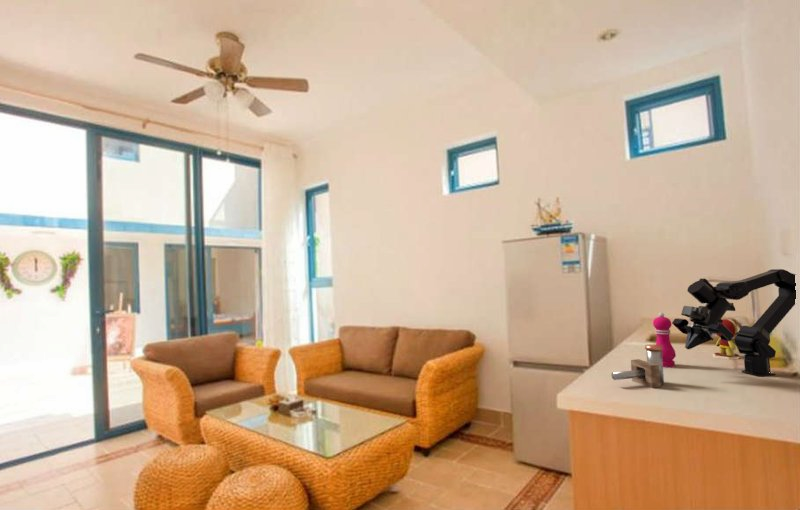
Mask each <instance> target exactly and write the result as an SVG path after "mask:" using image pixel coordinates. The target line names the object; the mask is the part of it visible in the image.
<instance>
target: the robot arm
mask: <svg viewBox="0 0 800 510" xmlns="http://www.w3.org/2000/svg"><path fill="white" fill-rule="evenodd" d="M795 275H796V274H795V273H792V272H790V271H788V270H786V269H781V268H774V269H769V270H768V271H767V270H766V271H764V272H762V273H758V274H755V275H753V276H749V277H746V278H743V279H740V280H731V281H730V280H729V281H721V282H718V283H717V284H716V285H715V286H713V284H712V283H710V282H709V280H708V279H706V278H699V279H698V280H697V281H694V282H693V283H692V284H690V285H689V286H688V287H687V293H689V294H690V295H691V296H692V297H693V298H694V299H695V300H697V301H698V302H699V303H700V304H705V305H699V306H698V307H697V306H696V307H695V306H692V305H691V306H688V305H683V307H682V309H681V310H682V311H681V314H680V315H681V316H685V317H687V318H689V320H688V319H685V318H677V317H676V318H674V319H673V321H671V325H673V326H674V327H675V328H676V329H678V331H679V332H680V333H682V334H684V335H686V340H685V341H686V342H685V346H684V348H685V349H686V350H691V349H693V348H696V347H697V346H700V345H702V344H704V343H708V342H709V341H714V338H713V337H714V336H716V334H721V337H720V338H721V339H722V340H724V341H730V340H734V345H735V347H736V349H737V350H738V353H739V354H742V355H744V360H743V363H744V369H743V370H741V371H740V372H741V373H745V374H747V375H748V374H749V375H751V376H752V375H753V376H757V377H765V376H766V377H767V376H775V375H776V373H775V372H772V373H771V362H770V359H772V358H775V357H776V353H777V351H776V349H774V348H773V347H772V346H771V345H770V343H771V336H770V335H771V333H772V332H773V331H774V330H775V328H776V327H778V326H779V324H780V323H781V322H782V320H783V319H784V318H785V316H786V315H787V314H788V313H789V312H790V311H791V310H792V309H793V307H795V306H796V304H795V299H796V290H795V286H796V283H795ZM773 284H774V286H776V287H777V288H778V296H777V297H776V298H775V299H774V300H773V302H772V303H771V304H770V305H769V307H768V308H767V309H766V310H765V311H764V312H763V313H762V315H760V317H759V318H758V320H756V322H755V323H753V325H751V326H749V325H742V326H741V327H740V329H738V332H737V333H735V334H737V335H736V336H735V337H734V338H733V333H732V332H731V331H730V330H729V329H728V328H727V327H726V326H725V325H724V324H719V323H722V322H723V320H722V319H723V317H724V316H725V314H726V312H727V311H729V312H736V308H735V306H734V302H729V301H728V300H733V301H739V300H741V299H743V298H745V297H747V296H748V295H749V293H751V292H752V291H755V290H759V289H761V288H764V287H768V286H770V285H773ZM689 321H690V322H689ZM769 372H770V373H769Z"/></svg>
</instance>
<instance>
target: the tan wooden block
mask: <svg viewBox="0 0 800 510" xmlns="http://www.w3.org/2000/svg"><path fill="white" fill-rule="evenodd" d="M630 369H631V370H630V371H632V370H643V369H645V375H646V377H641V378H631V380H632V382H634V383H636V384H639V383H640V385H642V386H645V387H647V388H650V387H651V389H657V387H658V388H661V384H660V373H659V365H657V364H654V363H650V362H647V360H643V359H639V358H638V359H637V358H636V359H630Z"/></svg>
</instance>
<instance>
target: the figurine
mask: <svg viewBox="0 0 800 510" xmlns="http://www.w3.org/2000/svg"><path fill="white" fill-rule="evenodd" d="M721 319H722V320H723V322H722V323H719V324H724V325H725V326H726V327H727V328H728V329H729V330H730V331H731V332H732V333H733V338H732V339H731V340H730V341H724V340H722V339H721V334H715V336H718V337H719V338H718V340H717V341H716V344H715V345H716V347H718V348H719V349H718V352H713V353H712V357H713V358H715V359H716V358H717V359H723V360H735V359H734V358H737V357H741V356H740V355H739V354H738V353H734V351H736V349H737V346H736V345H735V342H734V341H732V340H733V339H734V338H735V336H736V335H737V334H735V333H737V332H738V331H739V328H738V325H736V323H735V322H734V321H733V320H731V319H726V318H721Z"/></svg>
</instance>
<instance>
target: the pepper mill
mask: <svg viewBox="0 0 800 510" xmlns="http://www.w3.org/2000/svg"><path fill="white" fill-rule="evenodd" d="M652 325H653V327H654V328H655V329H654V333H655V335H656V343H655V345H661V346H663V350H662V360H663V368H674V367H676V362H675V361H674V359H675V358H676V356H677V355H676V350H675V349H674V347H673V345H672V343H671V339H670V334H671V327H672V321H671V319H670V318H668V317H666V316H665V314H664V312H659V313H658V316H656V317H655V318H654V319H653V320H652Z"/></svg>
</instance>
